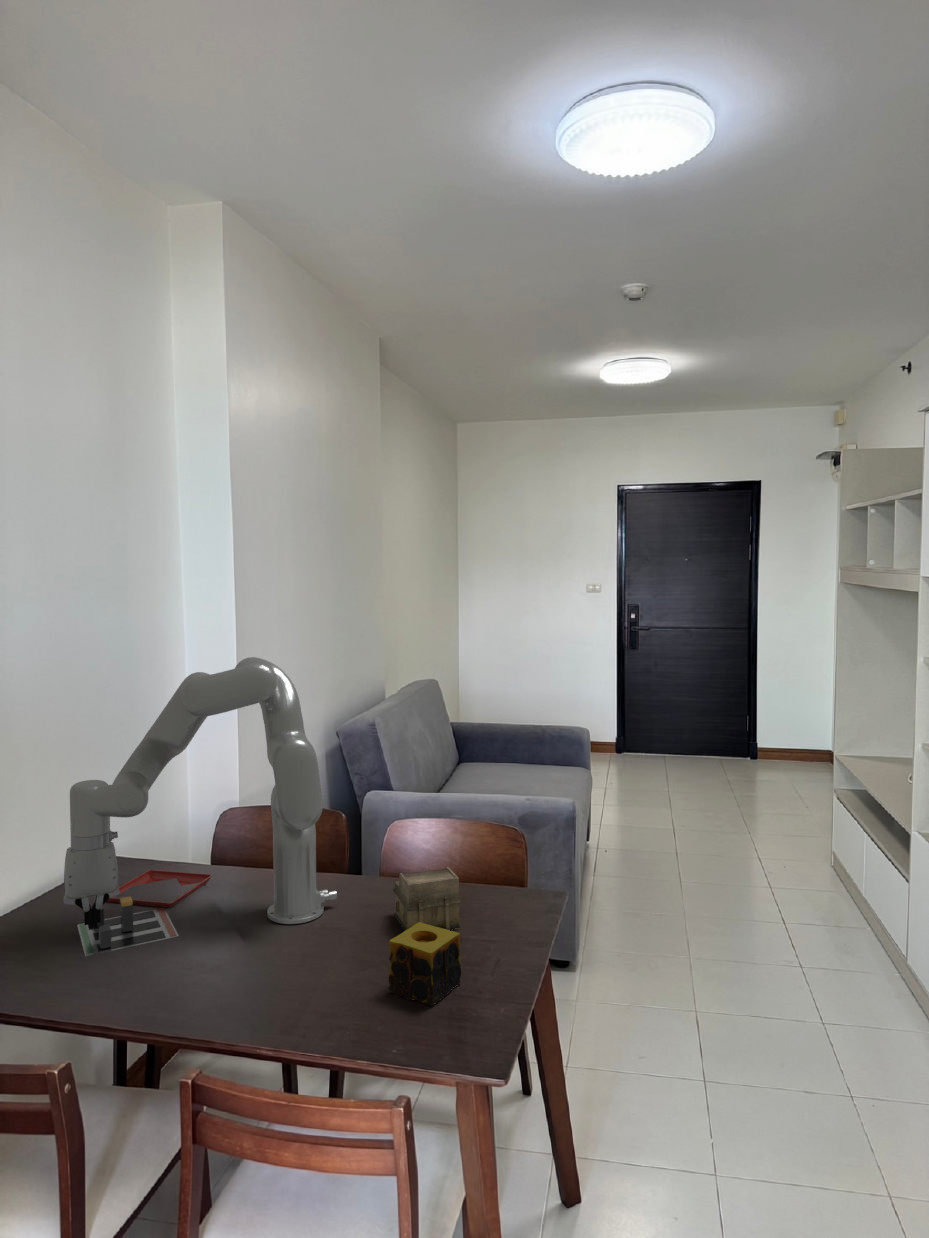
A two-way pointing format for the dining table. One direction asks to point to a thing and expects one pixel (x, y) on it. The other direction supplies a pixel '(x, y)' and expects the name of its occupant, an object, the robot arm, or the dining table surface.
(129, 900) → the block
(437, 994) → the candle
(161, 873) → the red square tray
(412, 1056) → the dining table surface
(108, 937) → the breaker
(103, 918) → the breaker
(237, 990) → the dining table surface
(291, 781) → the robot arm
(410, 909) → the miniature house
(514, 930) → the dining table surface
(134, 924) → the breaker panel
